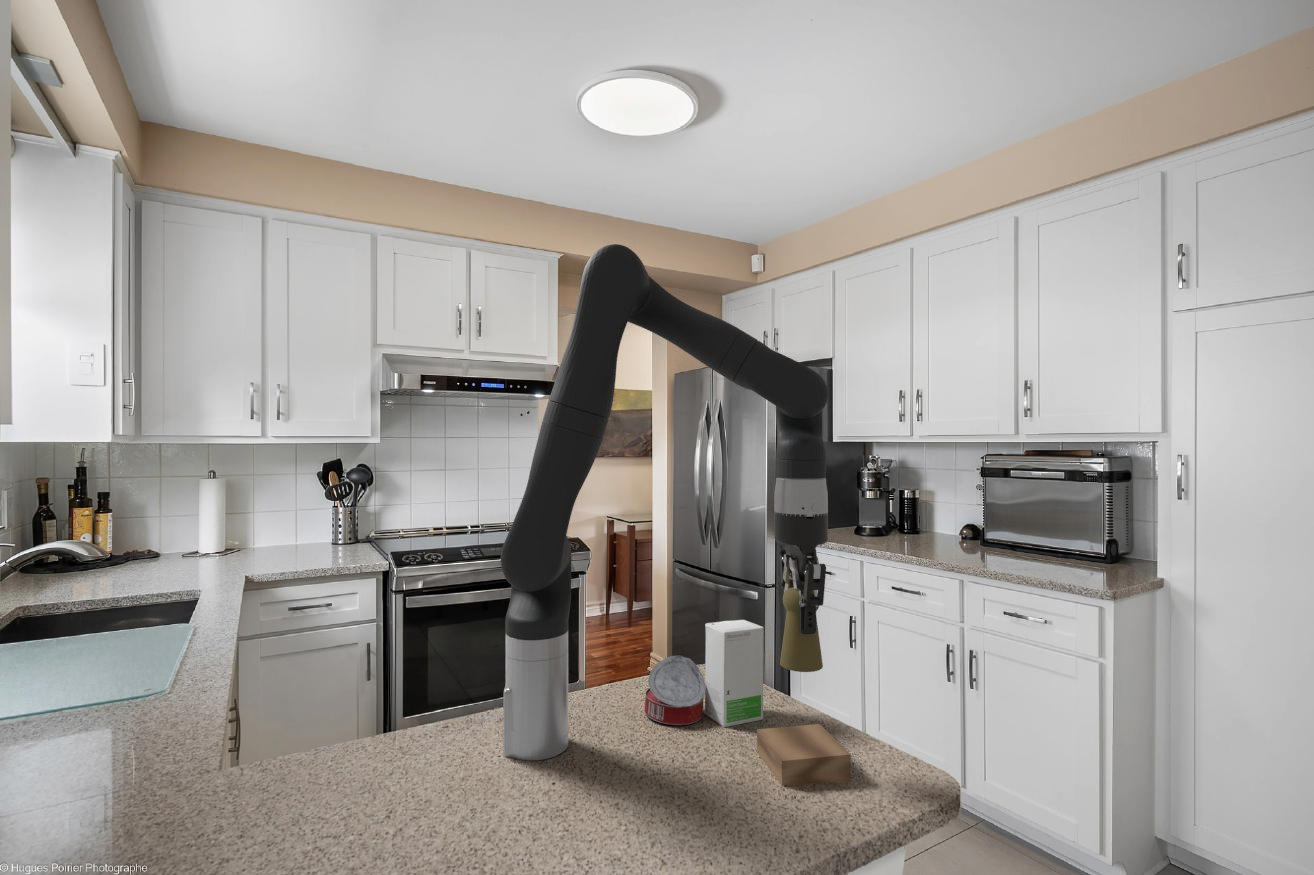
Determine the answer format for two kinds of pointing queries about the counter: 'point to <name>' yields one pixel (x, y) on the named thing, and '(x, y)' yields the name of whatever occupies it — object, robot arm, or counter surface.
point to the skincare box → (734, 672)
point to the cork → (798, 639)
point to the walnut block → (803, 755)
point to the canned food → (675, 692)
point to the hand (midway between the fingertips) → (800, 627)
